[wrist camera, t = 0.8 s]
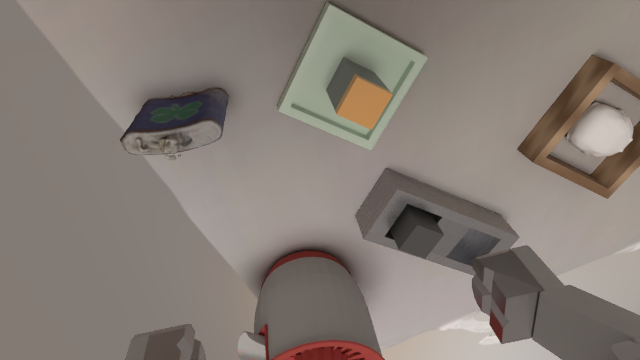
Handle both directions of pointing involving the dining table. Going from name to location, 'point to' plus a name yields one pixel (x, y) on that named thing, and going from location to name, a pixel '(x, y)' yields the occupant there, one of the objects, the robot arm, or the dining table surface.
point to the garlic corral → (565, 116)
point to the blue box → (177, 123)
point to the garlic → (601, 131)
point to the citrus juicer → (310, 314)
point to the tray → (323, 60)
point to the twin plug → (416, 231)
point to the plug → (358, 93)
